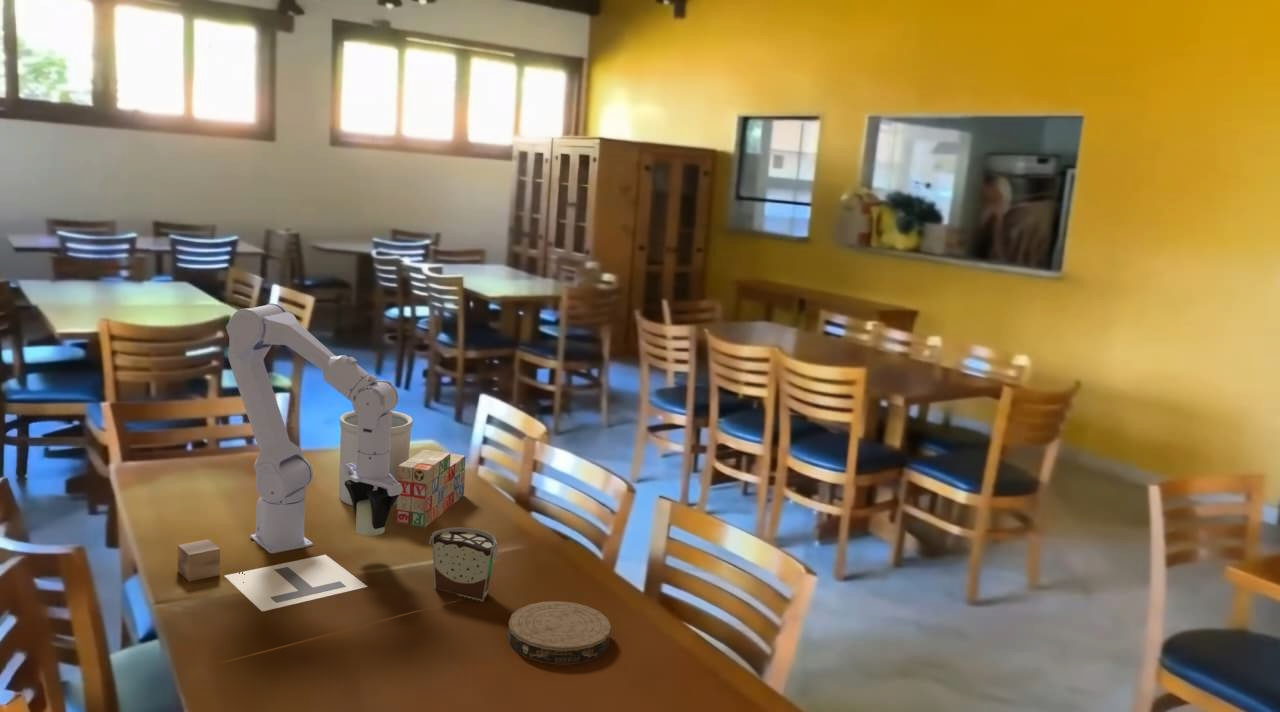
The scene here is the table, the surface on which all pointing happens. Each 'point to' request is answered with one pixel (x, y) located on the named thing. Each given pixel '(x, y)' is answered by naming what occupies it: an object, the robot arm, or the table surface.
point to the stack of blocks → (429, 486)
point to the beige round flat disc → (559, 632)
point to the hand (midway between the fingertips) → (370, 522)
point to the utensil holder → (349, 447)
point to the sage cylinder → (365, 519)
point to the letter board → (294, 582)
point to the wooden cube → (198, 560)
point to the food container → (463, 561)
